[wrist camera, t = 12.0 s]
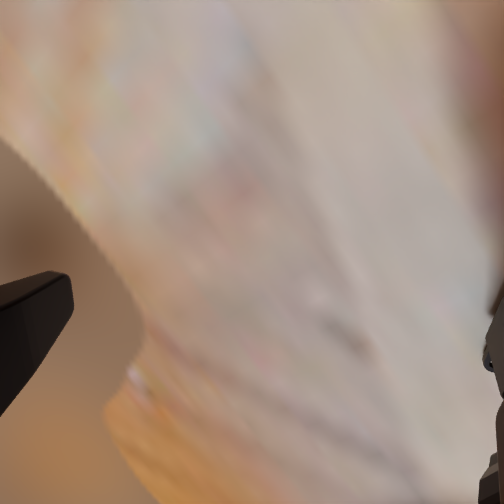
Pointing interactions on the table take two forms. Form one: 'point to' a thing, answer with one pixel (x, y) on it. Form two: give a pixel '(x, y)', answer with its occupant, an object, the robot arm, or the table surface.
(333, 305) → the table surface
